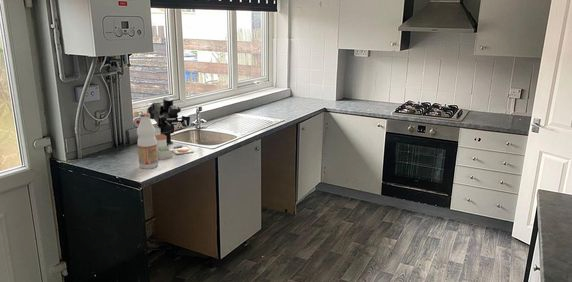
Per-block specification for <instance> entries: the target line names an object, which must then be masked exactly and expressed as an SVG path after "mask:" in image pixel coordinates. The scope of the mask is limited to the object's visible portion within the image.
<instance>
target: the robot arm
mask: <svg viewBox="0 0 572 282" xmlns="http://www.w3.org/2000/svg"><path fill="white" fill-rule="evenodd" d="M162 101H163V103H162V104H161V103H160V102H152V103H151V104H150V106H148V107H147V111H146V113H149V114H150V120H154V121H155V122H156V127H157V128H160V130H161V134H164V135H166V138H167V139H166V141H167V145H169V144H170V145H171V144H174V142H173V141H172V136H171V135H172V134H174V132H175V126H177V125H178V124H181V125H182V127H184V128H187V127H189V126H190V123H191V116H190V115H189V114H187V115H186V114H184V115H182V116H181V118H180V119H178V118H179V115H178V114H179V113H181V111H182V108H181V107H180V106H179V105H174V98H173V97H168V96H165V97H164V98H163V99H162Z"/></svg>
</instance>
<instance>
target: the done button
mask: <svg viewBox="0 0 572 282" xmlns="http://www.w3.org/2000/svg"><path fill="white" fill-rule="evenodd" d="M158 148H159V151H160V152H163V151H169V149H170V148H169V147H168V145H167V146H162V147H158Z"/></svg>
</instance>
